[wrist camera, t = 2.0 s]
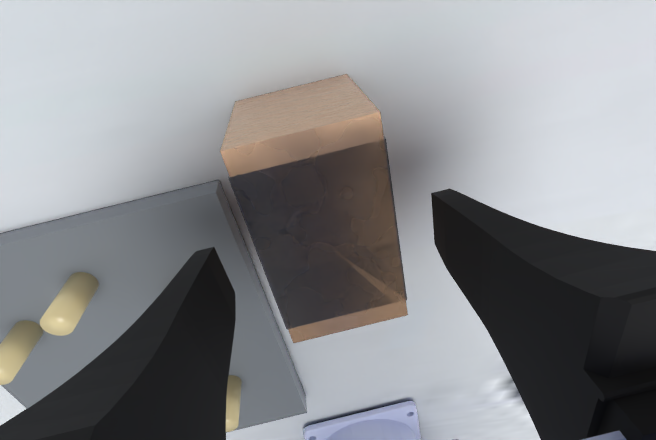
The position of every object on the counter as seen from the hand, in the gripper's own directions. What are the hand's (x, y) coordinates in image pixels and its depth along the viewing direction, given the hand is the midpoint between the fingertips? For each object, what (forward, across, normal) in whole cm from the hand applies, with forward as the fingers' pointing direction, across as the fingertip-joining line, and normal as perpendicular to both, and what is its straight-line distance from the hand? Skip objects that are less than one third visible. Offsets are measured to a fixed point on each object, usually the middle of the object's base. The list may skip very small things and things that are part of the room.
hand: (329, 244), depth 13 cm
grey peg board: (+5, +11, +7) cm, 14 cm away
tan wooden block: (+6, 0, 0) cm, 6 cm away
